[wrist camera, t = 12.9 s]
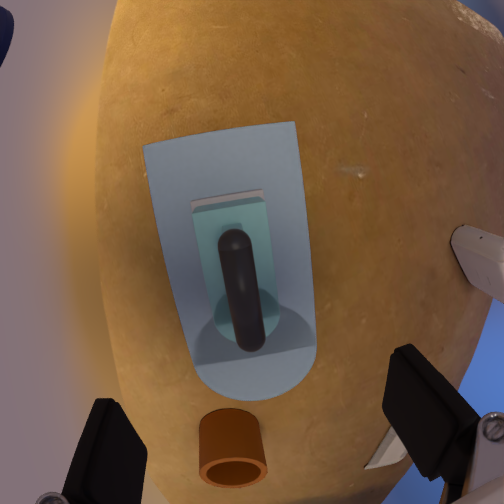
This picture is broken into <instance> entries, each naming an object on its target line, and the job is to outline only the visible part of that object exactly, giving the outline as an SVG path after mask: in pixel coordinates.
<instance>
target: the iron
mask: <svg viewBox="0 0 504 504" xmlns="http://www.w3.org/2000/svg"><path fill="white" fill-rule="evenodd" d="M190 204H191V210H192V219H193V225H194V230H195V235H196V240H197V245H198V250H199V255H200V260H201V265H202V269H203V274H204V279H205V283H206V288H207V293H208V297H209V302H210V306H211V310H212V315H213V319H214V323H215V326H216V328H217V329H218V331H219V332H220V333H221V334H222V335H223V336H224V337H226V338H227V339H229V340H231V341H234V342H237V344H238V346H239V347H240V348H241V349H242V350H244V351H246V352H255V351H258V350H259V349H261V348H262V347H263V345H264V343H265V340H266V337H267V336H268V335H270V334H271V333H272V332H273V330H274V329H275V328H276V326H277V324H278V322H279V318H280V308H279V299H278V291H277V283H276V276H275V268H274V260H273V253H272V245H271V238H270V230H269V223H268V216H267V208H266V202H265V199H264V192H263V189H255V190H248V191H242V192H236V193H230V194H224V195H218V196H212V197H206V198H201V199H195V200H191V201H190Z"/></svg>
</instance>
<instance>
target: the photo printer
mask: <svg viewBox="0 0 504 504" xmlns="http://www.w3.org/2000/svg"><path fill="white" fill-rule="evenodd" d="M451 240H452V241H451V245H452V248H453V250H454V252H455V254H456V257H457V259H458V261H459V263H460V265H461V267H462V269H463V271H464V273H465V275H466V277H467V279H468V281H469V282H470V283H471V284H472V285H473V286H475V287H477V288H478V289H480V290H482V291H483V292H485V293H487V294H488V295H490V296H492V297H493V298H495V299H497V300H498V301H500V302H502V303H503V304H504V238H502V237H500V236H497V235H494V234H491V233H489V232H486V231H483V230H480V229H477V228H474V227H471V226H469V225H464V226H460V227H458V228H457V229H456V230H455V231H454V233H453V235H452V238H451Z"/></svg>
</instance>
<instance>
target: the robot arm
mask: <svg viewBox="0 0 504 504" xmlns="http://www.w3.org/2000/svg"><path fill="white" fill-rule="evenodd" d="M382 409H383V412H384V414H385V416H386V417H387V419H388V421H389V422H390V424H391V425H392V427H393V429H394V430H395V432H396V434H397V435H398V437H399V439H400V440H401V442H402V443H403V445H404V447H405V448H406V450H407V452H408V453H409V455H410V457H411V458H412V460H413V462H414V463H415V465H416V467H417V468H418V470H419V472H420V473H421V475H422V476H423V477H428V479H429V481H432V480H434V479H436V478H438V477H440V476H441V477H442V478H443V480H444V481H445V484H444V488H443V492H442V495H441V499H440V502H439V504H504V413H501V412H490V413H488V414H486V415H484V416H483V417H482V418H481V417H480V416H479V415H478V414H477V413H476V412H475V411H474V409H473V408H472V407H471V406H470V405H469V404H468V403H467V402H466V400H465V399H464V398H463V397H462V396H461V395H460V394H459V393H458V392H457V390H456V389H455V388H454V387H453V386H452V385H451V384H450V383H449V382H448V381H447V380H446V378H445V377H444V376H443V375H442V374H441V373H440V372H438V371H437V370H436V369H435V367H434V366H433V365H432V364H431V363H430V362H429V361H428V360H427V359H426V358H425V357H424V356H423V355H422V354H421V353H420V352H419V351H418V350H417V349H416V348H415V346H414V345H412V344H410V343H409V344H406V345H404V346H401V347H398V348H396V349H395V350H394V353H393V354H391V356H390V362H389V369H388V375H387V381H386V387H385V392H384V397H383V403H382ZM147 455H148V453H147V448H146V446H145V445H144V443H143V442H142V440H141V439H140V437H139V436H138V434H137V432H136V431H135V429H134V428H133V426H132V424H131V423H130V421H129V419H128V418H127V416H126V414H125V412H124V411H123V409H122V407H121V405H120V404H119V403H118V402H115V401H114V399H112V398H97V399H96V400H95V402H94V404H93V407H92V409H91V412H90V414H89V417H88V419H87V422H86V425H85V427H84V430H83V433H82V435H81V437H80V440H79V442H78V445H77V448H76V451H75V454H74V457H73V459H72V462H71V465H70V468H69V472H68V474H67V477H66V481H65V484H64V487H63V490H62V493H61V494H59V493H56V492H48V493H45V494H43V495H41V496H40V497H39V498H38V500H37V501H36V504H141V499H142V491H143V483H144V475H145V469H146V462H147Z"/></svg>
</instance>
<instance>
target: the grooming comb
mask: <svg viewBox="0 0 504 504" xmlns="http://www.w3.org/2000/svg"><path fill="white" fill-rule="evenodd" d="M391 426H392V425H391ZM390 428H391V429H389V431H390V432H387V433H388V434H389V435H388V434H386V436H387V437H385V438H384V439H385V440H383V441H382V442H383V443H381V444H380V446H379V447H378V448H379V449H377V450H376V455H375V454H374V455H373V460H372V459H371V460H370V465H369V463H368V465H367V466H366V467H365V469H370V468H376V467H381V466H385V465H389V464H393V463H396V462H398V461H400V460H401V459H403V458H404V456H405V455H406V454H407V450H406V448H405V447H404V445H403V443H402V442H401V440H400V439H399V437H398V435H397V434H396V432H395V430H394V429H393V427H390Z"/></svg>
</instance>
